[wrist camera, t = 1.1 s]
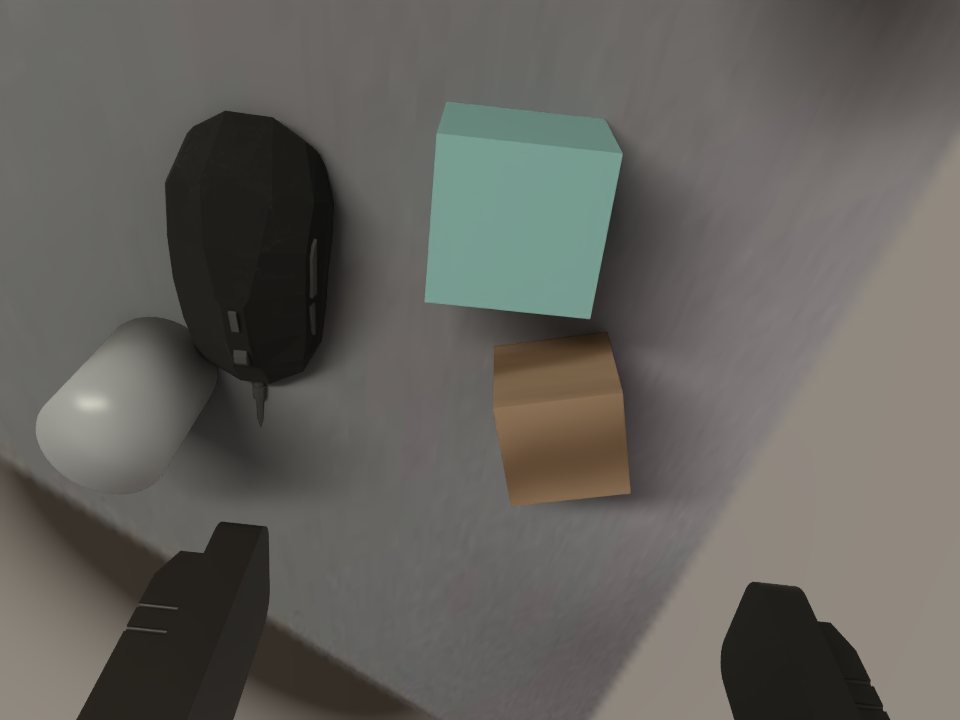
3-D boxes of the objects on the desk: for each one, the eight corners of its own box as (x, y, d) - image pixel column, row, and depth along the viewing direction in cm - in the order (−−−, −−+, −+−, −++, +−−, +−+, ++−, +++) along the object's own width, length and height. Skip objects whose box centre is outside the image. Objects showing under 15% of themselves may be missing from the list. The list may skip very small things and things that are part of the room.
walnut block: (494, 345, 33) (493, 408, 29) (606, 331, 33) (622, 392, 29) (509, 436, 36) (511, 506, 32) (614, 423, 35) (630, 493, 31)
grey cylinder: (98, 311, 33) (23, 384, 28) (213, 323, 33) (159, 397, 28) (115, 405, 36) (49, 488, 30) (221, 416, 36) (173, 499, 31)
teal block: (446, 100, 28) (436, 133, 24) (604, 118, 28) (622, 153, 24) (435, 249, 31) (424, 302, 27) (578, 264, 32) (590, 319, 27)
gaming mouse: (197, 414, 36) (165, 466, 33) (173, 96, 29) (129, 120, 25) (328, 429, 36) (310, 483, 33) (338, 119, 29) (317, 145, 26)
